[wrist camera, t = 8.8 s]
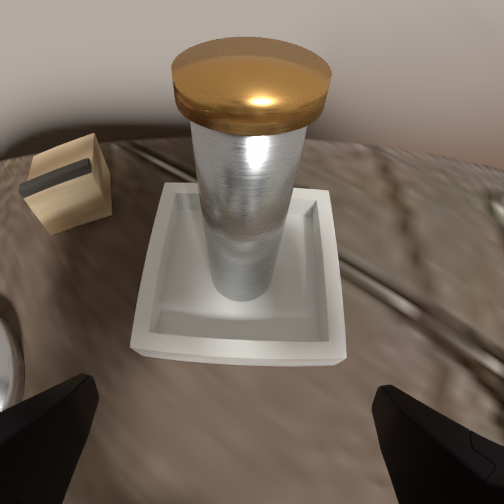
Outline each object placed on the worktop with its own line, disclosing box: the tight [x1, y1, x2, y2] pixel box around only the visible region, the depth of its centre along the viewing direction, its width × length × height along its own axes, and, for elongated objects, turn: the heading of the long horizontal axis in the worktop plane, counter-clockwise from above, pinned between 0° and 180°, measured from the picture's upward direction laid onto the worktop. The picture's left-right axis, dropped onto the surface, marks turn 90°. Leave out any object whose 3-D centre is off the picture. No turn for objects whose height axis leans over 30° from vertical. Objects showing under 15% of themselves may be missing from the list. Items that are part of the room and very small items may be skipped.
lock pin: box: [172, 37, 332, 302], centre depth 14 cm, size 5×5×14 cm
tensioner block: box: [19, 133, 112, 235], centre depth 21 cm, size 5×6×6 cm
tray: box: [130, 183, 347, 366], centre depth 19 cm, size 12×12×2 cm
